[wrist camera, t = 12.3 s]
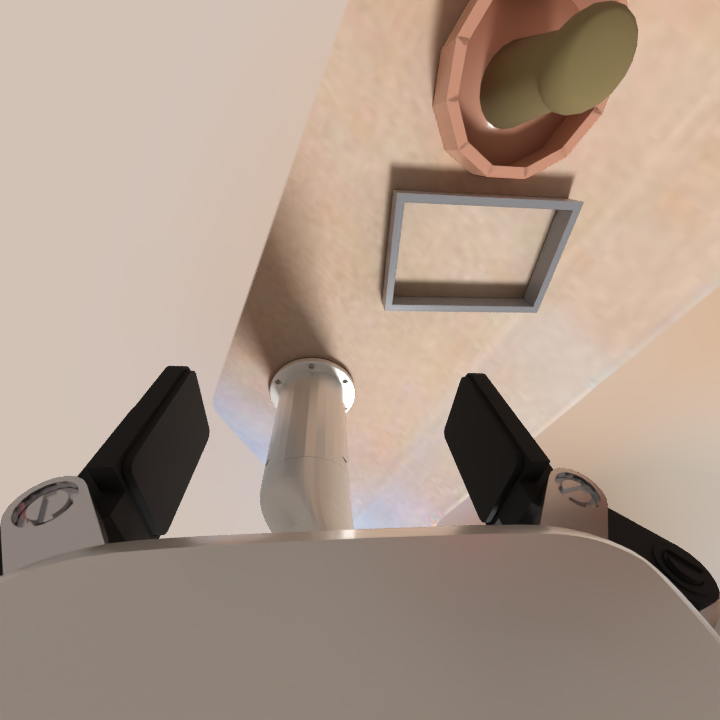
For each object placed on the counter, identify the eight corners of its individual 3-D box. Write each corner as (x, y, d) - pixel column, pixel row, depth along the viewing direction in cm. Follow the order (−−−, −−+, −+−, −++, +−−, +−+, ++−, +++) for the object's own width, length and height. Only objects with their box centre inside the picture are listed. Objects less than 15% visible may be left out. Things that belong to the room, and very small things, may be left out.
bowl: (550, 178, 32) (575, 181, 29) (423, 171, 31) (434, 173, 28) (621, -23, 24) (666, -49, 21) (454, -44, 23) (475, -75, 20)
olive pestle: (465, 93, 27) (533, 66, 18) (522, 16, 25) (634, -60, 16) (505, 145, 29) (582, 144, 20) (560, 79, 27) (676, 46, 18)
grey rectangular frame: (526, 304, 41) (537, 312, 39) (381, 302, 39) (384, 310, 37) (568, 198, 33) (583, 202, 31) (393, 189, 32) (397, 192, 30)
